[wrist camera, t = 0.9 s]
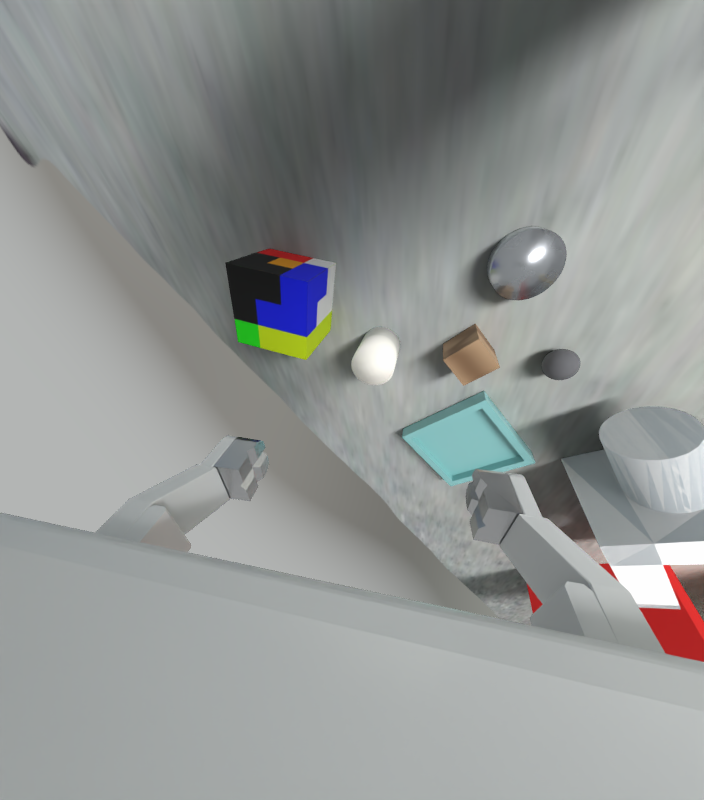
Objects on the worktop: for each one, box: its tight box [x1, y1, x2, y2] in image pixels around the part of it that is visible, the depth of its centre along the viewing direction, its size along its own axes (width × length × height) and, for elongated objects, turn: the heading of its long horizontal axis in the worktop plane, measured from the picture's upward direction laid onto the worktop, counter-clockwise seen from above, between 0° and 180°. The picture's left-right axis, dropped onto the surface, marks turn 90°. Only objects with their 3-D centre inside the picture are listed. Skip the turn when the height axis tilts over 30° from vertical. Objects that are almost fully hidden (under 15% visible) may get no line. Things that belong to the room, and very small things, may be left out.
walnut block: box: [443, 324, 500, 385], centre depth 37 cm, size 5×5×5 cm
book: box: [527, 564, 704, 662], centre depth 51 cm, size 27×8×32 cm, turn 132°
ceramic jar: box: [351, 327, 400, 385], centre depth 39 cm, size 6×6×7 cm
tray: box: [402, 391, 535, 486], centre depth 48 cm, size 16×16×2 cm
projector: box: [561, 407, 704, 609], centre depth 37 cm, size 35×19×15 cm, turn 39°
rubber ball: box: [541, 349, 580, 380], centre depth 35 cm, size 4×4×4 cm
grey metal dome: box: [487, 226, 566, 300], centre depth 30 cm, size 7×7×3 cm
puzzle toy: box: [226, 249, 336, 360], centre depth 36 cm, size 10×10×10 cm
